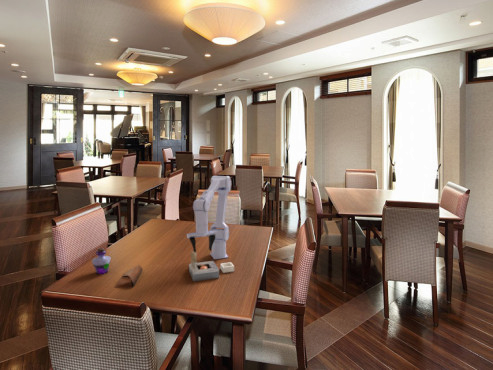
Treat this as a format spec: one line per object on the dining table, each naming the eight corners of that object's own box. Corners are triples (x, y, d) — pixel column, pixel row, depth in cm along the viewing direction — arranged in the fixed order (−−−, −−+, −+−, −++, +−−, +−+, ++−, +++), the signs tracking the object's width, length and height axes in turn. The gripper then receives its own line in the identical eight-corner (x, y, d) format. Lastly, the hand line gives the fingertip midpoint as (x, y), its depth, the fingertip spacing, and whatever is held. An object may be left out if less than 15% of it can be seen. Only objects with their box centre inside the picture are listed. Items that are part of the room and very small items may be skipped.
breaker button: (199, 269, 161) (199, 266, 160) (206, 268, 162) (206, 265, 161) (201, 271, 158) (200, 269, 157) (207, 271, 159) (207, 268, 158)
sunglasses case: (124, 271, 164) (131, 260, 163) (137, 278, 165) (144, 266, 164) (114, 288, 146) (121, 275, 146) (128, 295, 147) (136, 282, 147)
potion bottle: (105, 276, 158) (103, 252, 157) (88, 275, 160) (86, 250, 158) (115, 269, 167) (114, 246, 165) (100, 268, 169) (98, 245, 167)
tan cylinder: (190, 267, 169) (190, 251, 168) (196, 266, 170) (195, 251, 169) (191, 269, 167) (191, 253, 166) (197, 268, 167) (196, 253, 166)
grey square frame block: (189, 271, 164) (189, 263, 163) (213, 268, 167) (213, 260, 167) (193, 281, 152) (193, 273, 152) (219, 277, 156) (219, 269, 156)
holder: (220, 268, 167) (220, 263, 167) (231, 267, 169) (231, 262, 169) (223, 272, 162) (223, 267, 162) (234, 271, 164) (234, 266, 163)
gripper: (188, 227, 157) (189, 255, 159) (218, 224, 161) (219, 251, 163) (185, 223, 163) (186, 250, 165) (214, 221, 168) (215, 247, 170)
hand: (202, 251), depth 165 cm, fingers open, 7 cm apart
